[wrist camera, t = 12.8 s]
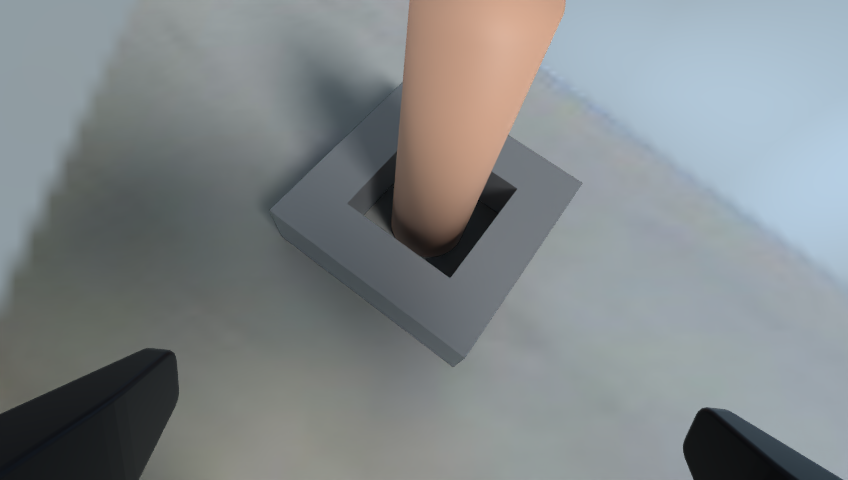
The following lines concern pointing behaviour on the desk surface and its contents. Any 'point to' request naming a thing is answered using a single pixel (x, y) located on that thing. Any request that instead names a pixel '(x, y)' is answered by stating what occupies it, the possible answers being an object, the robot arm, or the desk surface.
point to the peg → (460, 107)
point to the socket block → (401, 267)
